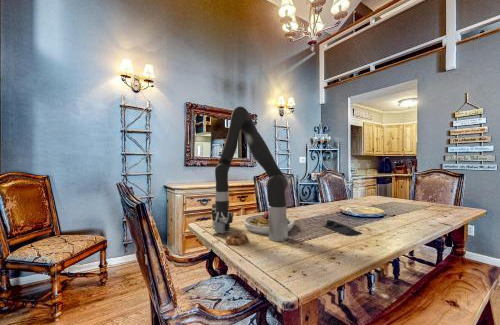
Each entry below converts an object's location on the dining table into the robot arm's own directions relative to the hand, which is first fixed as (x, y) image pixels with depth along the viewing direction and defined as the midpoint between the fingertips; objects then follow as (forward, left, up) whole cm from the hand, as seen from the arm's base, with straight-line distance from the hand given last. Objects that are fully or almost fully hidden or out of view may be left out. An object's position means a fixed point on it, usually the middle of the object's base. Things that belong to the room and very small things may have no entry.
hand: (222, 229), depth 126 cm
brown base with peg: (0, 0, -3) cm, 3 cm away
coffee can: (+10, -10, -3) cm, 14 cm away
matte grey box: (0, 0, -1) cm, 1 cm away
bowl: (-16, -25, -3) cm, 30 cm away
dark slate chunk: (-55, -43, -4) cm, 70 cm away
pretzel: (-13, +4, -3) cm, 15 cm away
